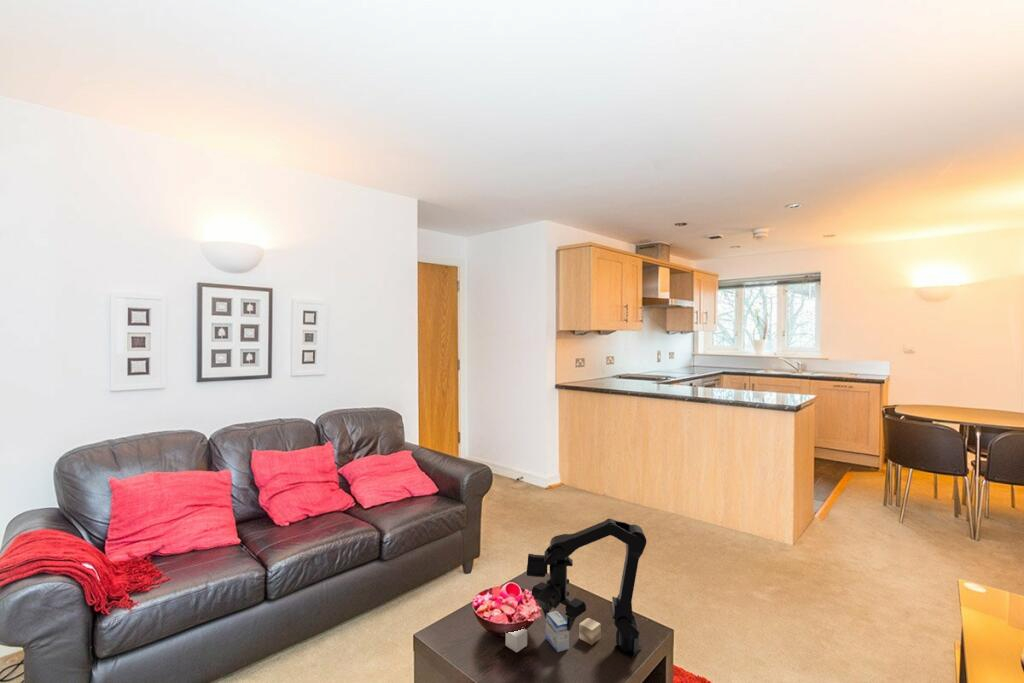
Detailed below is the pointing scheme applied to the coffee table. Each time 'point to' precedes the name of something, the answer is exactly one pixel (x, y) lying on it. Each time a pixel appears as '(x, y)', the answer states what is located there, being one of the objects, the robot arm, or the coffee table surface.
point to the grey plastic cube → (516, 640)
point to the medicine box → (557, 631)
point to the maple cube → (589, 631)
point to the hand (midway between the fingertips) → (557, 624)
